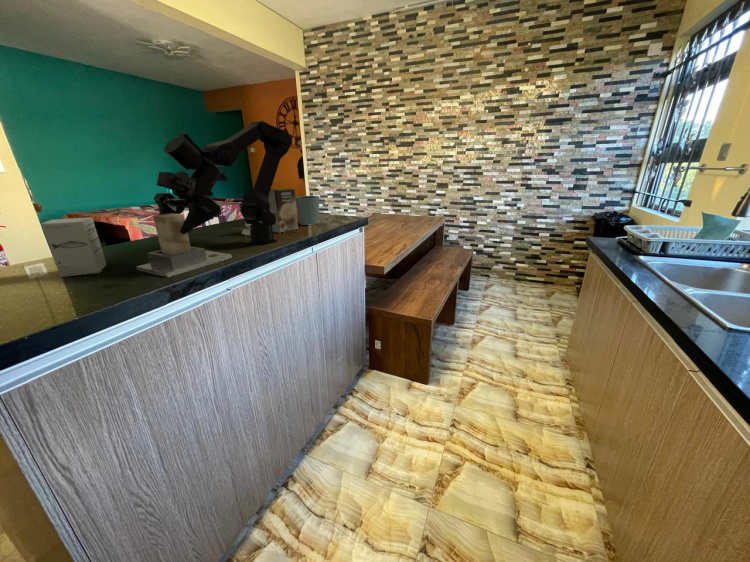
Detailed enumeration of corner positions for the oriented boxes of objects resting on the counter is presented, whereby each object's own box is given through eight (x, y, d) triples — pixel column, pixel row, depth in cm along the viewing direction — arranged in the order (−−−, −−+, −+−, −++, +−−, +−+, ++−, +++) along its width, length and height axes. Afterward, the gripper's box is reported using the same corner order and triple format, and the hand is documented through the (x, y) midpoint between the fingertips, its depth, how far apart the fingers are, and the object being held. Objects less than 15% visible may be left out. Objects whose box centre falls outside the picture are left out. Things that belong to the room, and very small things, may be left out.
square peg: (182, 258, 82) (171, 213, 78) (193, 260, 80) (183, 214, 76) (164, 263, 78) (152, 215, 74) (176, 265, 76) (164, 216, 72)
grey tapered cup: (325, 223, 139) (323, 196, 135) (312, 227, 131) (310, 198, 127) (306, 221, 143) (304, 195, 139) (293, 225, 135) (290, 197, 130)
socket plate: (202, 253, 91) (200, 239, 90) (231, 257, 86) (229, 243, 85) (137, 270, 76) (132, 254, 74) (167, 277, 71) (163, 260, 70)
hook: (225, 223, 111) (231, 209, 115) (245, 244, 120) (250, 231, 124) (242, 219, 109) (248, 205, 113) (262, 241, 118) (266, 228, 122)
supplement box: (59, 278, 71) (38, 223, 66) (71, 269, 77) (52, 218, 72) (100, 273, 74) (82, 220, 69) (108, 265, 80) (92, 216, 76)
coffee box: (280, 233, 118) (275, 190, 113) (270, 231, 122) (264, 189, 116) (298, 229, 125) (295, 188, 120) (288, 228, 129) (284, 188, 123)
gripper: (151, 159, 78) (115, 209, 73) (200, 158, 71) (164, 213, 65) (187, 190, 88) (157, 235, 82) (234, 191, 80) (204, 242, 75)
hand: (169, 231), depth 76 cm, fingers open, 9 cm apart
